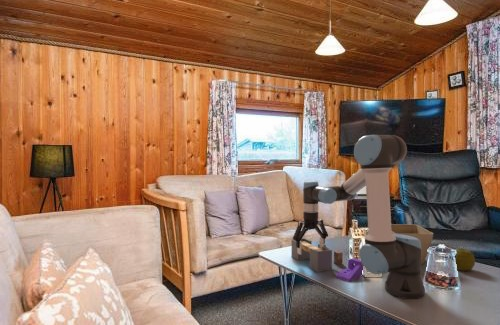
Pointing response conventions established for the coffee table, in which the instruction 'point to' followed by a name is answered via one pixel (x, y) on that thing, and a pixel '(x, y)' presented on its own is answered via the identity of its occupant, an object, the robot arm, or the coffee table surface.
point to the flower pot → (415, 232)
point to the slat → (307, 247)
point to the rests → (337, 256)
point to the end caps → (314, 256)
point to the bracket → (351, 270)
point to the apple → (464, 260)
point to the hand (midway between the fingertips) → (310, 252)
